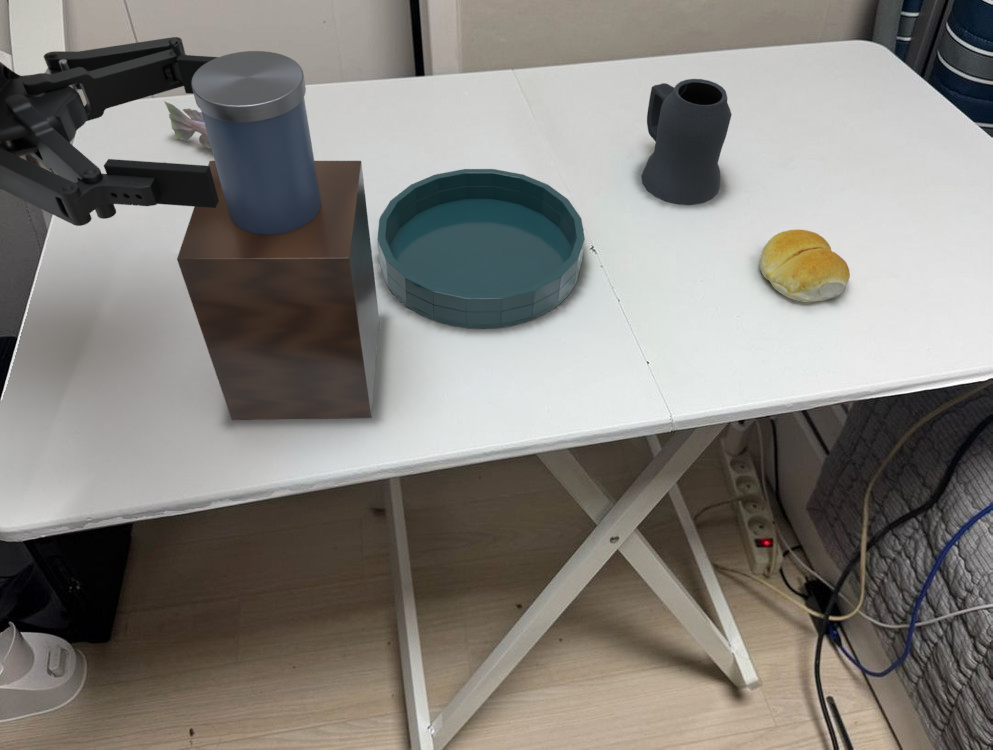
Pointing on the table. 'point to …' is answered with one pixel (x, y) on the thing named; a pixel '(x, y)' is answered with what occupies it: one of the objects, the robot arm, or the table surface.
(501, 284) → the round teal tray
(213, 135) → the tin
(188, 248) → the brown wooden block
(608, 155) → the table surface
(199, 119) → the fish
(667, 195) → the mug
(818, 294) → the bread roll
